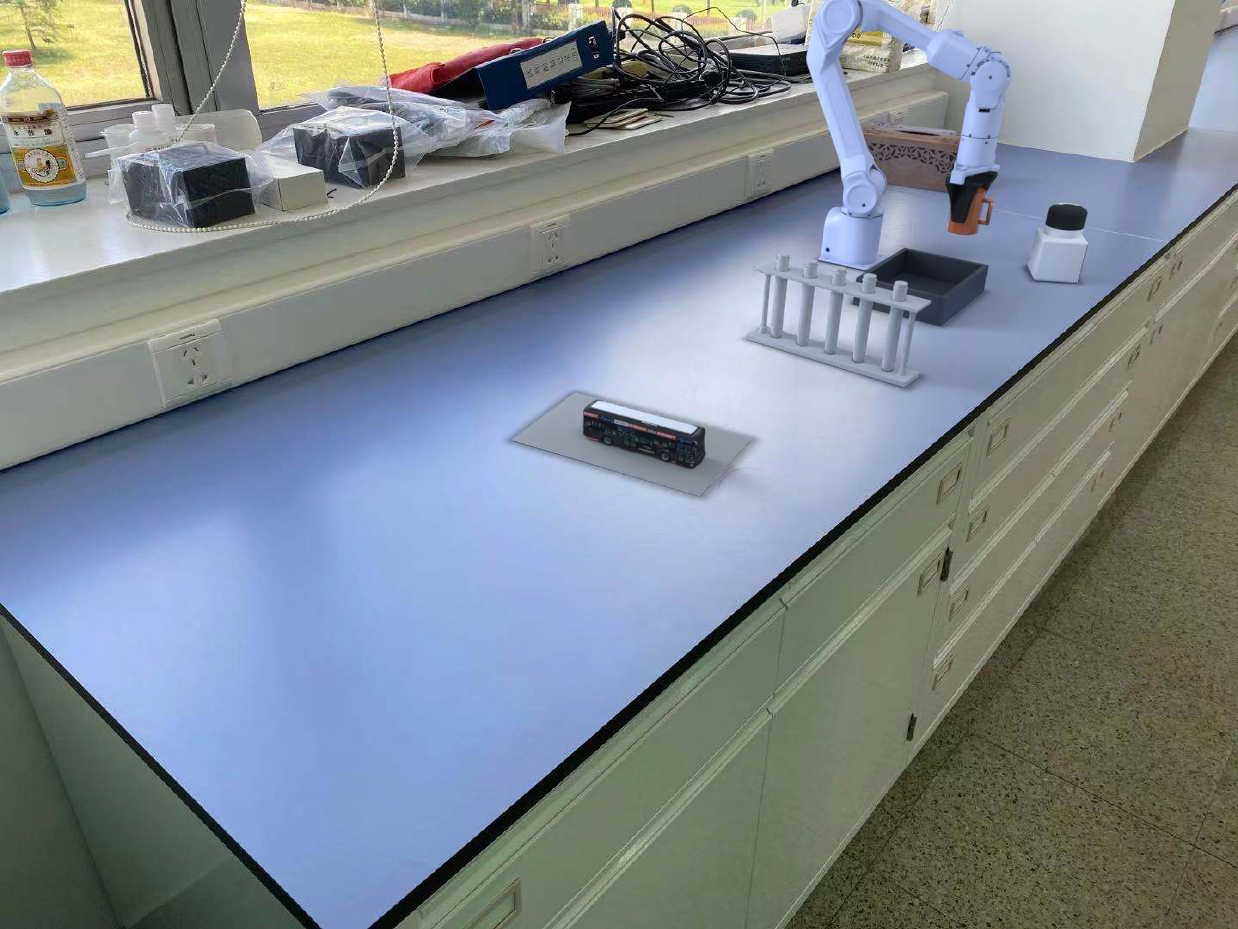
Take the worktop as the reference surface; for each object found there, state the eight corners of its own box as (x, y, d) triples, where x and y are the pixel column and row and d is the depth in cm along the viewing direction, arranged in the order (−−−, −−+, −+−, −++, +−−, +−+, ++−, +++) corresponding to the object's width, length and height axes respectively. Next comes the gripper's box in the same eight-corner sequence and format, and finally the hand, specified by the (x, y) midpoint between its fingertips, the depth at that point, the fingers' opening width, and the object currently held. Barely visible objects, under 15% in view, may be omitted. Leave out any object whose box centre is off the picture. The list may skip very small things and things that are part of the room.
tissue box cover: (976, 178, 219) (984, 133, 214) (959, 193, 209) (968, 146, 203) (867, 163, 231) (873, 120, 226) (846, 177, 220) (851, 132, 215)
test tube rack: (918, 376, 131) (935, 284, 124) (904, 387, 128) (920, 294, 121) (762, 330, 144) (769, 244, 138) (746, 339, 142) (753, 252, 135)
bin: (852, 304, 153) (856, 277, 151) (900, 272, 166) (904, 247, 164) (940, 326, 146) (945, 298, 144) (983, 291, 158) (989, 264, 156)
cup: (942, 231, 162) (949, 189, 158) (953, 224, 165) (960, 183, 162) (981, 239, 158) (990, 196, 155) (992, 231, 162) (1000, 190, 158)
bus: (699, 496, 105) (701, 463, 103) (511, 439, 116) (509, 409, 114) (750, 439, 116) (753, 408, 114) (575, 392, 126) (574, 363, 124)
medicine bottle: (1078, 284, 161) (1096, 213, 155) (1033, 280, 163) (1050, 210, 156) (1070, 269, 167) (1087, 201, 161) (1027, 266, 169) (1042, 198, 162)
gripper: (988, 146, 147) (971, 233, 154) (1019, 130, 157) (1002, 212, 164) (944, 140, 151) (929, 225, 158) (977, 124, 161) (962, 205, 168)
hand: (963, 218), depth 161 cm, fingers closed on cup, 5 cm apart
